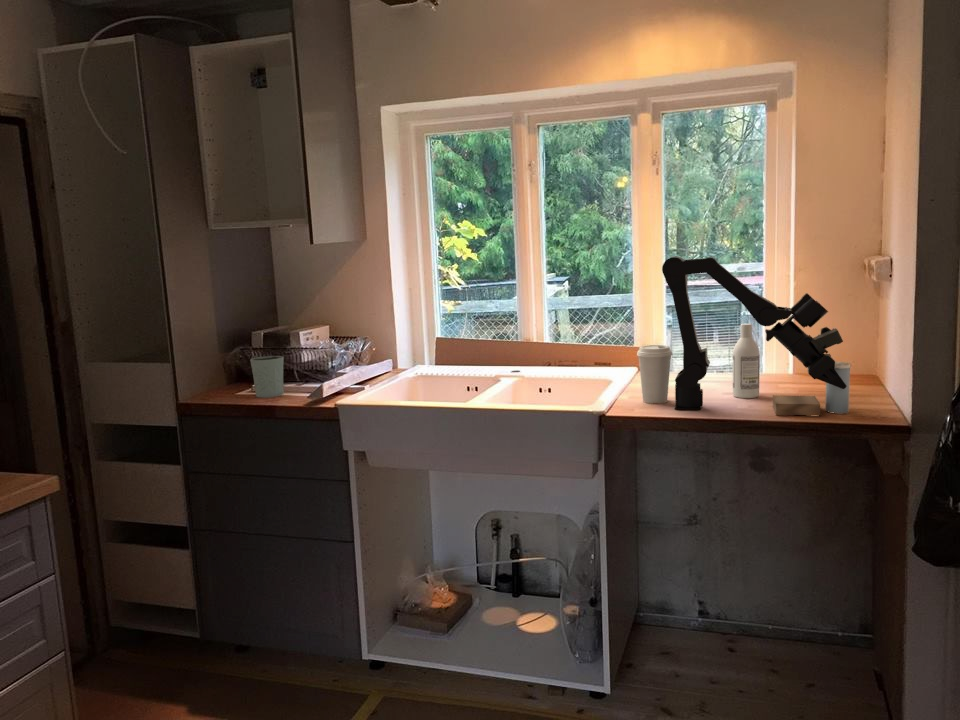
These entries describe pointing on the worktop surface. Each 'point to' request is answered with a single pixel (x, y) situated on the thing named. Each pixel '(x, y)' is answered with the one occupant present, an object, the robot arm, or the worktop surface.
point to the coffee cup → (654, 372)
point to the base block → (796, 405)
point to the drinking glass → (268, 376)
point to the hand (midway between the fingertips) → (843, 385)
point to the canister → (839, 390)
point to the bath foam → (746, 365)
